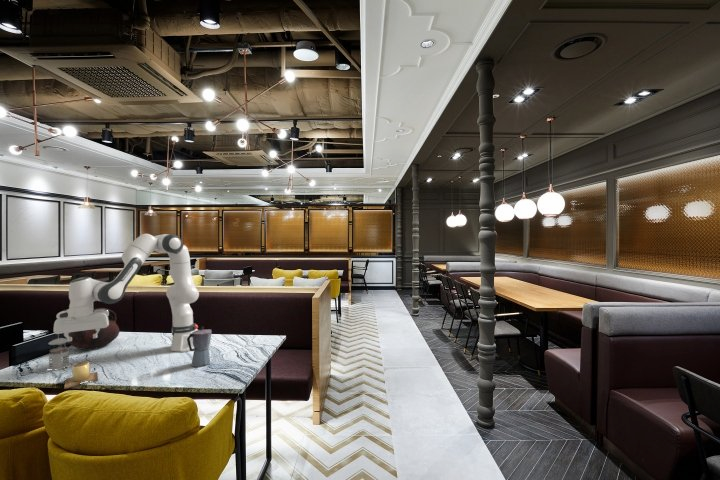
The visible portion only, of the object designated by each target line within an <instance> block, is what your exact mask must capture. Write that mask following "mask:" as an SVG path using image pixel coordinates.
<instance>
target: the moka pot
mask: <svg viewBox="0 0 720 480" xmlns="http://www.w3.org/2000/svg"><path fill="white" fill-rule="evenodd" d="M204 328H205V327H204V326H200V329H198V330H197V331H194V332H192V334H190V335H189V337H188V338H187V342H188V345H189V349H190V351H189V352H193V354H192V355H193V356H192V359H191V360H192V361H191V366H193V367H204V366H207V365H210V364H211V363H210V362H211V359H210V358H211V357H210V348H209V347H210V346H211V345H210V342H211V340H212V332H213V330H212V329H204ZM190 337H193V346H194V349H192V348H191V344H190ZM209 345H210V346H209Z"/></svg>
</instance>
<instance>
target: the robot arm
mask: <svg viewBox="0 0 720 480" xmlns="http://www.w3.org/2000/svg"><path fill="white" fill-rule="evenodd" d="M153 252H154V253H159V254H160V253H161V254H167V255H168V257H169V258H168V259H169V267H170V268H169V269H170V271H169V272H170V277H171V279H172V280H173V284H172V285H170V286H168V287H167V289H166V292H165V293H166V297H167V299H168V302H169V305H170V308H171V314H172V317H171V318H172V325H171V336H172V339H171V343H170V344H171V345H170V351H172V352H181V353H185V352H191V351H190V349H189V345H188V342H187V338H188V337H189V335H190V334H192V332H194V331H197V330H199V329H198V328H199V326H198V324H196V323H194V316H193V315H194V312H193V309H192V307H191V305H190V304H193V303H196V301H197V300H198V299H199V297H200V292H199V290H198V289H197V287H196V285H195V281H194V279H193V275H192V271H191V270H192V269H191V258H190V252H189V249H188V247H187V246H186V245H185V244H183V240H182V238H181V237H180V236H178V235H176V234H168V233H164V234H155V235H152V234H150V233H143V234H140V235H139V236H137V237H136V238H135V239H134V240H133V241H132V242H131V243H130V244H129V245H128V246H127V247H126V248H125V249H124V250H123V252H122V254H121V260H122V262H123V264H124V266H123V268H122V269H121V271H120V272H119V274H117V276H116V277H115V278H114V279H113V280H112V281H110V282H107V281H101V280H98V279H93V278H92V277H90V276H83V277H79V278H74V279H72V280H71V281H70V282H69V285H68V286H69V287H68V299H69V306H68V309H64V310H62V311H60V312H58V313H57V314H56V317H55V318H56V319H55V321H54V323H53V333H54V335H58V334H59V335H60V334H63V336H64V337H65V339H67V341H68V342H67V343H69V342H71V341H72V337H70V336H69V334H70V332H76V331H84V330H92V329H96V331H97V332H96V334H93V338H97V334H98V332H99V330H100V328H106V327H107V326H108V325H109V321H108V320H109V316H110V313H109V311H108V310H106V311H105V309H99V310H93V309H94V302H97V301H98V302H101V303H104V304H108V305H112V304H116V303H118V302H119V301H122V299H123V298H124V295H125V292H126V289H127V288H128V286H129V284H130V283H131V282H132V280H133V279H135V276H136V275H137V274H138V272H139V271H140V269H141V267H142V266H143V264H144V263H145V261H146V260H147V259H148V258H149V257H150V256H151V255H152V254H153ZM190 344H191V348H192V349H194V346H193V337H190ZM211 345H212V342H211V341H210V345H209V347H210V346H211Z"/></svg>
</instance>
